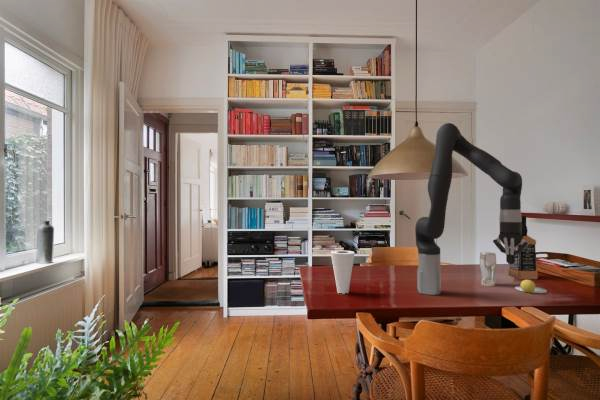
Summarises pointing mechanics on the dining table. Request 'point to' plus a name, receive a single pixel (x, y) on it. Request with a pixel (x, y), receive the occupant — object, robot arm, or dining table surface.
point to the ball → (527, 286)
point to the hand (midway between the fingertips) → (510, 263)
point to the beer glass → (488, 268)
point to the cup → (342, 269)
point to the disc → (537, 290)
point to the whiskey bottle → (525, 258)
